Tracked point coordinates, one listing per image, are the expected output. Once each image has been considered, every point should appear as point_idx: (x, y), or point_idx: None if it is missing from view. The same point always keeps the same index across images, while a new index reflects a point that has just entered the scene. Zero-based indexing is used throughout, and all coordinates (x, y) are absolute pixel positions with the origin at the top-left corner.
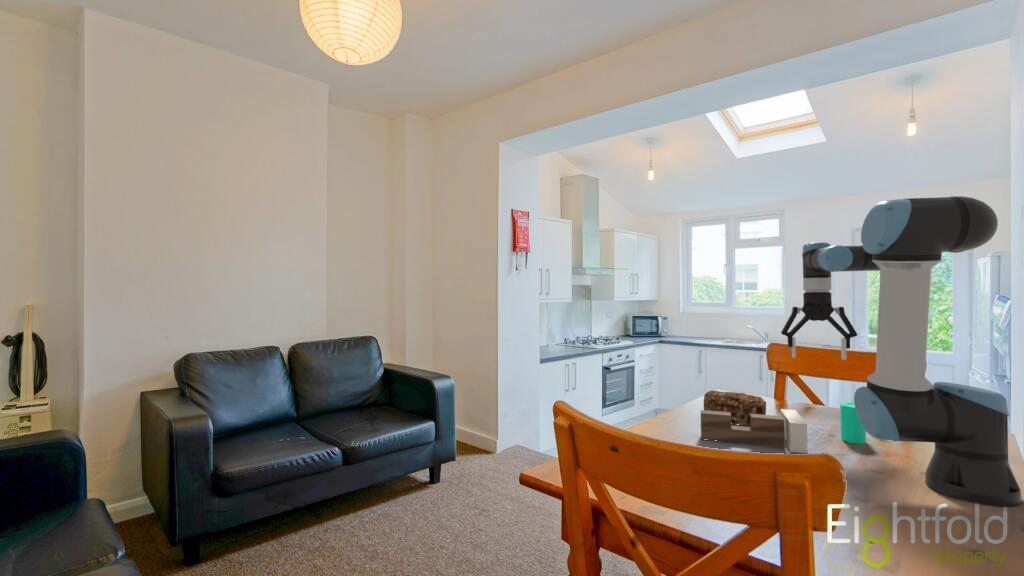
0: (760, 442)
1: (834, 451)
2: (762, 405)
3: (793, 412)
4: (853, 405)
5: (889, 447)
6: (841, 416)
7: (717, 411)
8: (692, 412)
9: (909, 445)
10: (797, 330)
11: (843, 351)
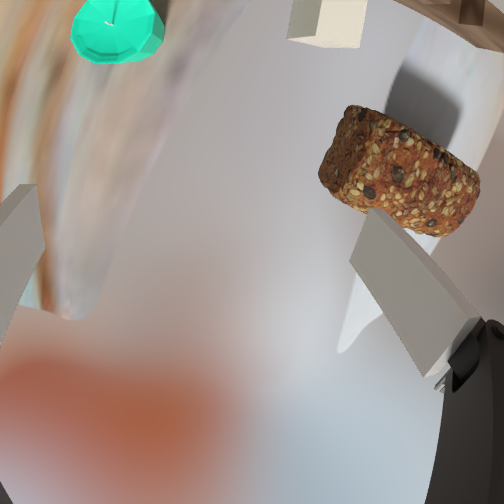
0: None
1: None
2: (381, 119)
3: (334, 3)
4: (101, 46)
5: (69, 3)
6: (158, 25)
7: (499, 38)
8: None
9: (17, 45)
10: (497, 386)
11: (6, 219)
